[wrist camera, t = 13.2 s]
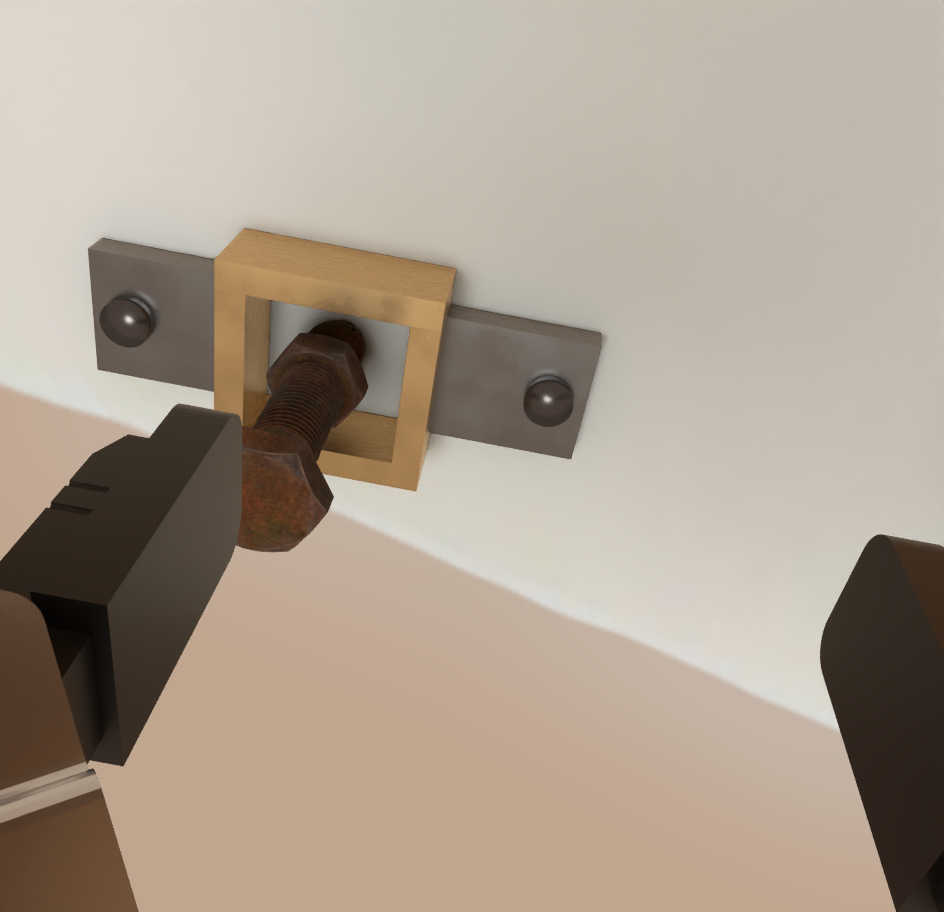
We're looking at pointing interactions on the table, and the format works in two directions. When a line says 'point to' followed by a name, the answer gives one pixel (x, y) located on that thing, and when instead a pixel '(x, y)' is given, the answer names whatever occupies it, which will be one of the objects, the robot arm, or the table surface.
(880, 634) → the robot arm
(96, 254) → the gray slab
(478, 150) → the table surface
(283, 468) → the bolt
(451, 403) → the gray knob plate
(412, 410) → the square wooden frame
